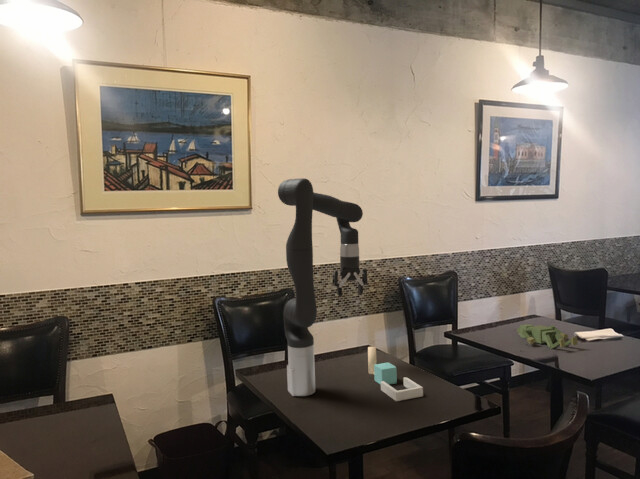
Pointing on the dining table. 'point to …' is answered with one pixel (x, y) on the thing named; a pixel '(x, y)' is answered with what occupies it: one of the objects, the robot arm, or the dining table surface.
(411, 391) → the cream u-shaped frame
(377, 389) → the dining table surface
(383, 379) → the tethered block
